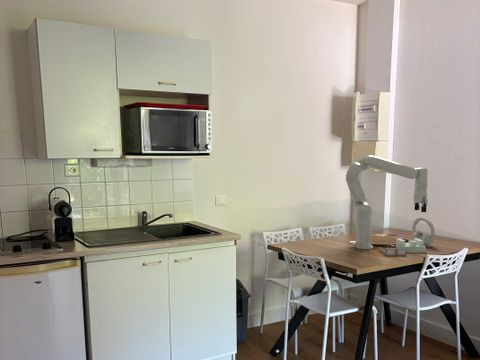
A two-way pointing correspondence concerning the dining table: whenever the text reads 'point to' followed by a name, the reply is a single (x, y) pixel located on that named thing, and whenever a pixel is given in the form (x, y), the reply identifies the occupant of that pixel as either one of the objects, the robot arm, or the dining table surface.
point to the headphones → (427, 236)
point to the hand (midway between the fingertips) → (420, 211)
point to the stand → (412, 245)
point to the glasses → (393, 251)
